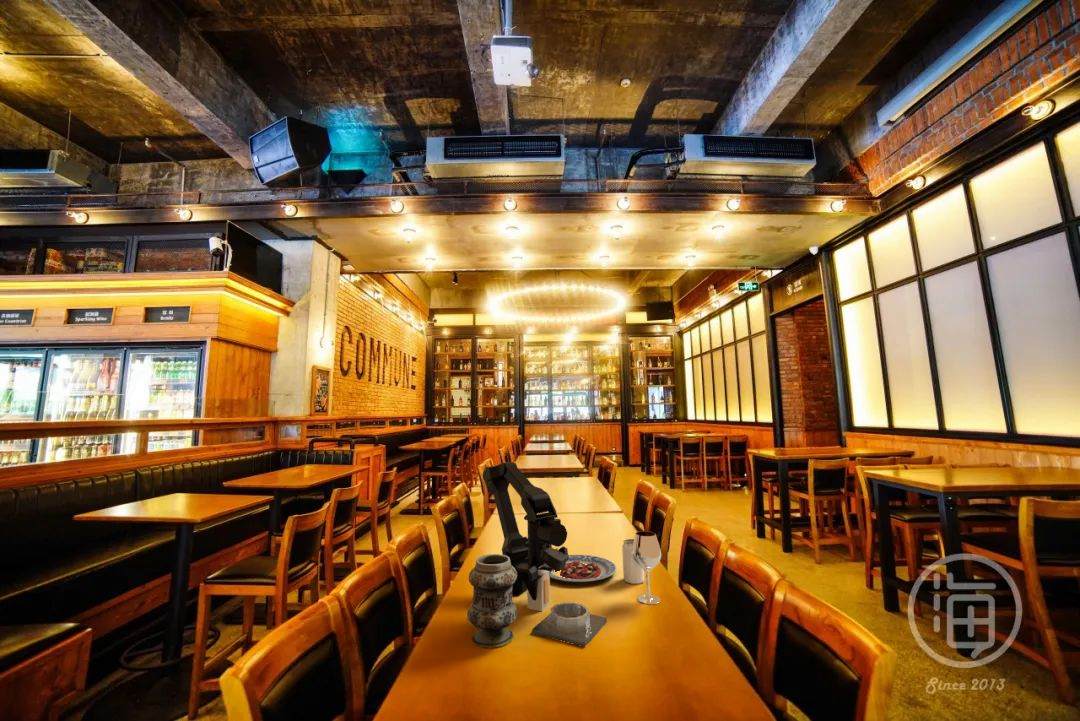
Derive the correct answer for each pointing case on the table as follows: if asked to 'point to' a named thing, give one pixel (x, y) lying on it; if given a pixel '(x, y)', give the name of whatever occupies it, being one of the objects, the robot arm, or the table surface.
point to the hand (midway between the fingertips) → (538, 596)
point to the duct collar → (570, 624)
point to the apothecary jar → (492, 600)
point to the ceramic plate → (585, 569)
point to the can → (631, 564)
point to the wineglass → (646, 559)
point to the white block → (541, 593)
